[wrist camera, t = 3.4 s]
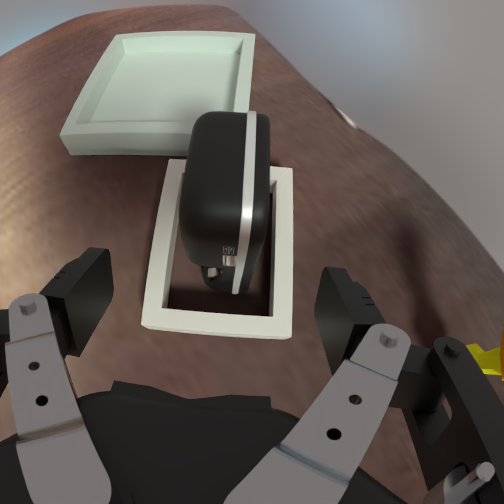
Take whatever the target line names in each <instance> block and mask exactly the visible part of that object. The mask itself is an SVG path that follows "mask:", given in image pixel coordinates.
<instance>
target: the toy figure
mask: <svg viewBox="0 0 504 504" xmlns="http://www.w3.org/2000/svg"><path fill="white" fill-rule="evenodd" d="M466 347H467V348H468V350H469V351H470V353H471V354H472V356H473V357H474V359H475V360H476V362H477V363H478V365H479V366H480V368H481V370H482V371H483V373H484V374H495V375H502V380H504V328H503V334H502V342H501V347H498V348H495V349H493V350H490V351H487V352H484V351H483V350H482V349H481V348H480V347H479V346H478V345H477V343H476V344H471V345H466Z"/></svg>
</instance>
